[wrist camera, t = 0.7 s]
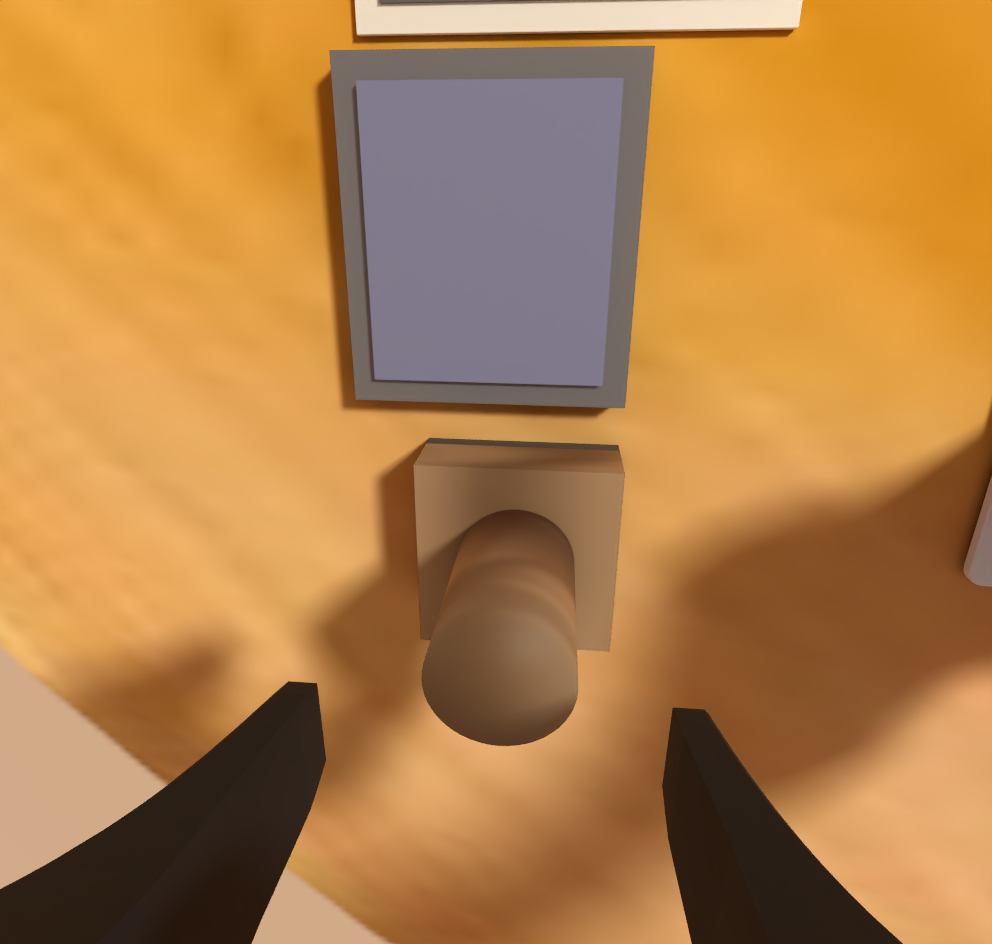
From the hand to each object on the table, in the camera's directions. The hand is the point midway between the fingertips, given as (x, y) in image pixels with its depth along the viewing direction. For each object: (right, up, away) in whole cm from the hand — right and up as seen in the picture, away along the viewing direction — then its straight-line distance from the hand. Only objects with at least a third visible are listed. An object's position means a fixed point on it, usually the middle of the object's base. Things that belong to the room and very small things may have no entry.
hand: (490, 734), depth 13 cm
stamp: (+1, +4, +9) cm, 10 cm away
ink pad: (0, +12, +5) cm, 13 cm away
